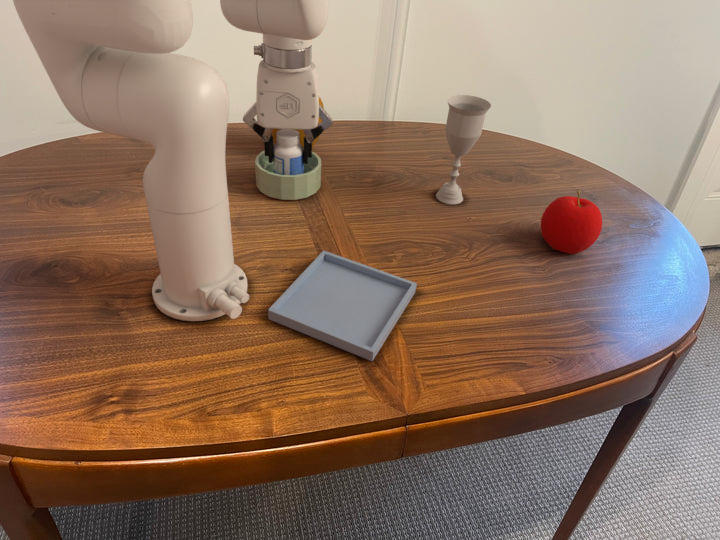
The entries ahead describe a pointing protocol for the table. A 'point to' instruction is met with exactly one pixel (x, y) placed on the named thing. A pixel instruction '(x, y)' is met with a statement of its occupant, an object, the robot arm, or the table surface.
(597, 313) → the table surface
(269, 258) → the table surface
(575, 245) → the fruit
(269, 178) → the bowl
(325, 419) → the table surface
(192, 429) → the table surface
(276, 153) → the pill bottle
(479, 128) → the chalice
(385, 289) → the tray
